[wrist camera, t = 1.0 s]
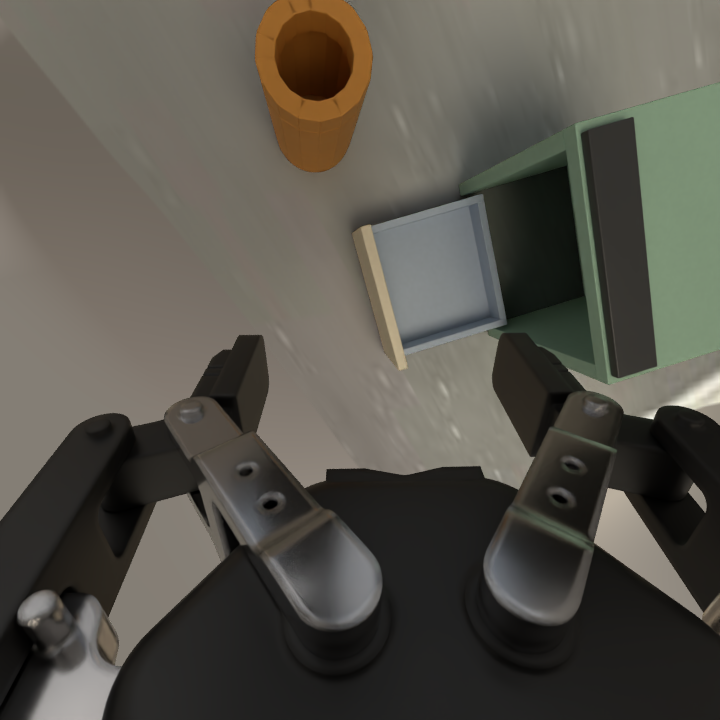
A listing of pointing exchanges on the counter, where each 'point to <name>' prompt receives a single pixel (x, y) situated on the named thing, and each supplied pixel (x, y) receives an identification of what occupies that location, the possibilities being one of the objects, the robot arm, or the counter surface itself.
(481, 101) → the counter surface
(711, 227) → the green open box
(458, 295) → the beige drawer
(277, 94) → the jar
